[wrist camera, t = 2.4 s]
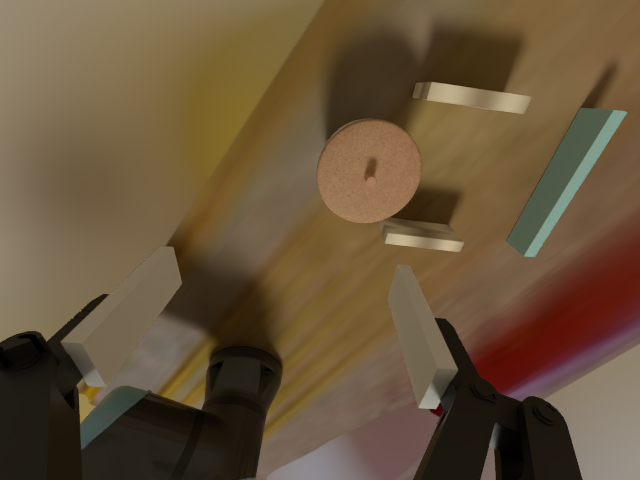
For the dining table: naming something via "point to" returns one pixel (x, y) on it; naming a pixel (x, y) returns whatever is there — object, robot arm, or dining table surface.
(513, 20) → the dining table surface
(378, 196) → the lidded jar
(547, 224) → the bar
